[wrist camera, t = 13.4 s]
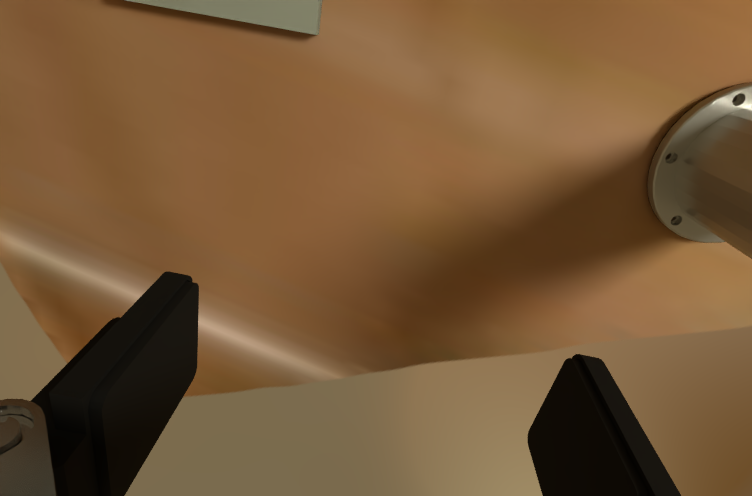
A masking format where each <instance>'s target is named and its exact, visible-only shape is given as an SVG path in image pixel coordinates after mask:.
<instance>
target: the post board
mask: <svg viewBox="0 0 752 496" xmlns="http://www.w3.org/2000/svg"><path fill="white" fill-rule="evenodd" d="M126 1H132V2H137V3H143V4H148V5H154V6H159V7H165V8H170V9H176V10H181V11H187V12H192V13H198V14H204V15H209V16H215V17H220V18H226V19H231V20H237V21H242V22H248V23H253V24H259V25H264V26H270V27H275V28H281V29H286V30H292V31H297V32H303V33H308V34H314V35H319V27H320V16H321V6H322V0H126Z"/></svg>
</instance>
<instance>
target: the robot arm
mask: <svg viewBox="0 0 752 496" xmlns="http://www.w3.org/2000/svg"><path fill="white" fill-rule="evenodd" d="M647 188H648V197H649V201H650V204H651V207H652V210H653V212H654V213H655V215H656V216H657V217H658V219H659V220H660V221H661V222H662V223H663V224H664V225H665V226H666V227H667V228H669V229H670V230H672V231H673V232H675V233H676V234H678V235H679V236H681V237H684V238H686V239H689V240H692V241H697V242H703V243H722V242H727V243H728V244H730V245H731V246H733V247H734V248H736V249H737V250H739V251H740V252H742V253H743V254H745V255H746V256H748V257H750V258H751V259H752V82H749V83H744V84H740V85H735V86H732V87H730V88H727V89H724V90H722V91H719V92H717V93H715V94H713V95H711V96H710V97H708V98H706V99H704V100H703V101H701V102H699V103H698V104H697V105H695V106H694V107H693V108H692V109H690V110H689V111H688V112H686V113H685V114H684V115H683V116H682V117H681V118H680V119H679V120H678V121H677V122H676V123H675V124H674V125H673V126H672V127H671V129H670V130H669V131H668V133H667V134H666V136H665V137H664V138H663V140H662V141H661V143H660V145H659V147H658V149H657V151H656V153H655V155H654V157H653V160H652V163H651V166H650V169H649V174H648V184H647ZM198 301H199V286H198V284H197V283H193V282H192V278H191V277H190V276H188V275H183V274H178V273H173V272H165V273H163V274H162V275H161V276H160V277H159V278H158V280H157V281H156V282H155V283H154V284H153V285H152V286H151V287H150V288H149V289H148V290H147V291H146V292H145V293H144V294H143V295H142V296H141V297H140V298H139V299H138V300H137V301H136V302H135V304H134V305H133V306H132V307H131V308H130V309H129V310H128V311H127V312H126V313H125V314H124V315H123V316H122V317H121V318H118V317H117V318H114V319H112V320H111V321H110V322H108V323H107V324H106V325H105V326H104V327H103V328H102V329H101V330H100V331H99V332H98V333H97V334H96V335H95V336H94V337H93V338H92V339H91V340H90V341H89V342H88V343H87V345H86V346H85V347H84V348H83V349H82V350H81V351H80V352H79V353H78V354H77V355H76V356H75V357H74V358H73V359H72V360H71V361H70V362H69V363H68V364H67V365H66V366H65V367H64V368H63V369H62V370H61V371H60V372H59V373H58V374H57V375H56V376H55V377H54V378H53V379H52V380H51V381H50V382H49V383H48V384H47V385H46V386H45V387H44V388H43V389H42V390H41V391H40V392H39V393H38V394H37V395H36V396H35V397H34V398H33V399H32V400H31V401H27V400H23V399H5V400H0V496H124V495H125V494H126V492H127V490H128V489H129V487H130V485H131V484H132V482H133V480H134V478H135V477H136V475H137V473H138V472H139V470H140V468H141V467H142V465H143V463H144V462H145V460H146V458H147V457H148V455H149V453H150V451H151V450H152V448H153V446H154V445H155V443H156V441H157V440H158V438H159V436H160V434H161V433H162V431H163V430H164V428H165V426H166V425H167V423H168V421H169V419H170V418H171V416H172V414H173V413H174V411H175V409H176V408H177V406H178V404H179V402H180V401H181V399H182V398H183V396H184V394H185V392H186V391H187V389H188V387H189V386H190V384H191V382H192V381H193V379H194V376H195V373H196V369H197V347H198ZM528 446H529V450H530V453H531V456H532V460H533V463H534V467H535V470H536V474H537V477H538V480H539V484H540V488H541V491H542V494H543V496H681V494H680V493H679V491H678V489H677V488H676V486H675V484H674V482H673V481H672V479H671V477H670V476H669V474H668V472H667V470H666V469H665V467H664V465H663V464H662V462H661V460H660V458H659V457H658V455H657V453H656V451H655V450H654V448H653V446H652V445H651V443H650V441H649V439H648V438H647V436H646V434H645V432H644V431H643V429H642V427H641V426H640V424H639V422H638V420H637V419H636V417H635V415H634V414H633V412H632V410H631V408H630V407H629V405H628V403H627V401H626V400H625V398H624V396H623V395H622V393H621V391H620V389H619V388H618V386H617V384H616V383H615V381H614V379H613V377H612V376H611V374H610V372H609V371H608V369H607V367H606V366H605V364H604V362H603V361H602V360H601V359H599V358H595V357H590V356H585V355H580V354H576V355H574V356H573V357H572V359H571V358H568V359H566V360H565V362H564V364H563V366H562V368H561V369H560V371H559V373H558V375H557V377H556V379H555V381H554V383H553V385H552V387H551V389H550V391H549V393H548V395H547V397H546V398H545V401H544V402H543V404H542V406H541V408H540V410H539V412H538V414H537V416H536V418H535V420H534V422H533V424H532V426H531V428H530V430H529V433H528Z"/></svg>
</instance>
